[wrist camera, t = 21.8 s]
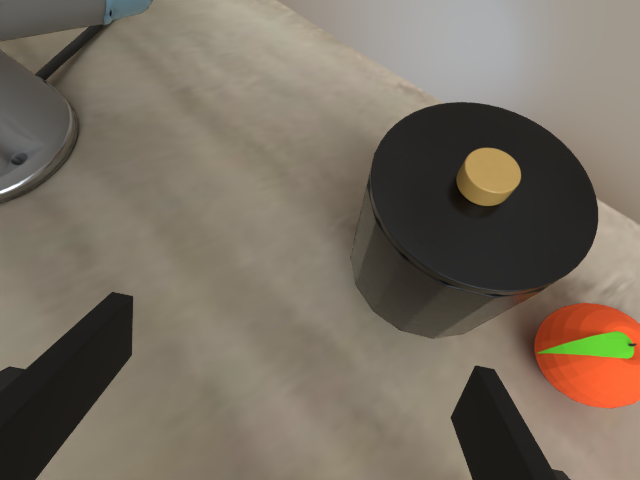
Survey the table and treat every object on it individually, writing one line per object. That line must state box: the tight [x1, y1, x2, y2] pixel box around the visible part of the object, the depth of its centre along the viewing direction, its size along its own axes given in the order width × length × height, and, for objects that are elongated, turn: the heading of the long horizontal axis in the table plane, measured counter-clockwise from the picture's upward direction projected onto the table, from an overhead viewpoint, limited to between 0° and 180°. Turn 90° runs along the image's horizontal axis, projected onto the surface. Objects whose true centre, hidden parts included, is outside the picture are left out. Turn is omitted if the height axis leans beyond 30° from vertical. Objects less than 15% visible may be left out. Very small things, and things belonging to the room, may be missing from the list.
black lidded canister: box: [350, 102, 598, 338], centre depth 22 cm, size 11×11×11 cm
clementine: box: [534, 303, 640, 408], centre depth 25 cm, size 8×7×7 cm
